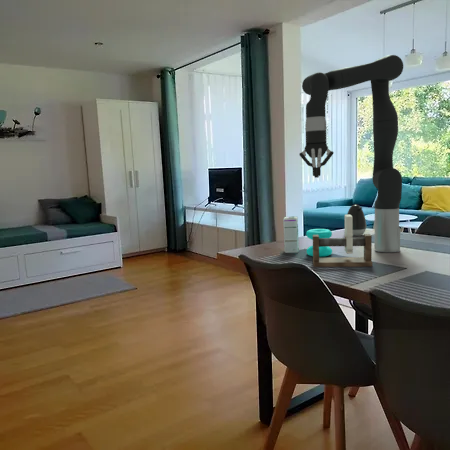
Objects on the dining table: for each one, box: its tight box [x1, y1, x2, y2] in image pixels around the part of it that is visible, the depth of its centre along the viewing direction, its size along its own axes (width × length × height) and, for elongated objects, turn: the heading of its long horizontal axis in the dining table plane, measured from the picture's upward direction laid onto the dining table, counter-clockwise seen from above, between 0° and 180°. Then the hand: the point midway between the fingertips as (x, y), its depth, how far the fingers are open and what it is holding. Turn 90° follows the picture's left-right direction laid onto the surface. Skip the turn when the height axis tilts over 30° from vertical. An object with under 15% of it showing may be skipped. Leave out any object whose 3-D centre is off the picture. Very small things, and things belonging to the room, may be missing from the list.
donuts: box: [305, 228, 333, 258], centre depth 172 cm, size 10×10×10 cm
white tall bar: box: [344, 214, 354, 255], centre depth 154 cm, size 2×7×13 cm, turn 171°
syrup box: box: [282, 216, 300, 254], centre depth 180 cm, size 6×6×14 cm
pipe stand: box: [312, 233, 374, 268], centre depth 155 cm, size 20×8×10 cm, turn 81°
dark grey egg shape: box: [346, 204, 367, 237], centre depth 212 cm, size 10×10×15 cm
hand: (316, 177), depth 161 cm, fingers closed
